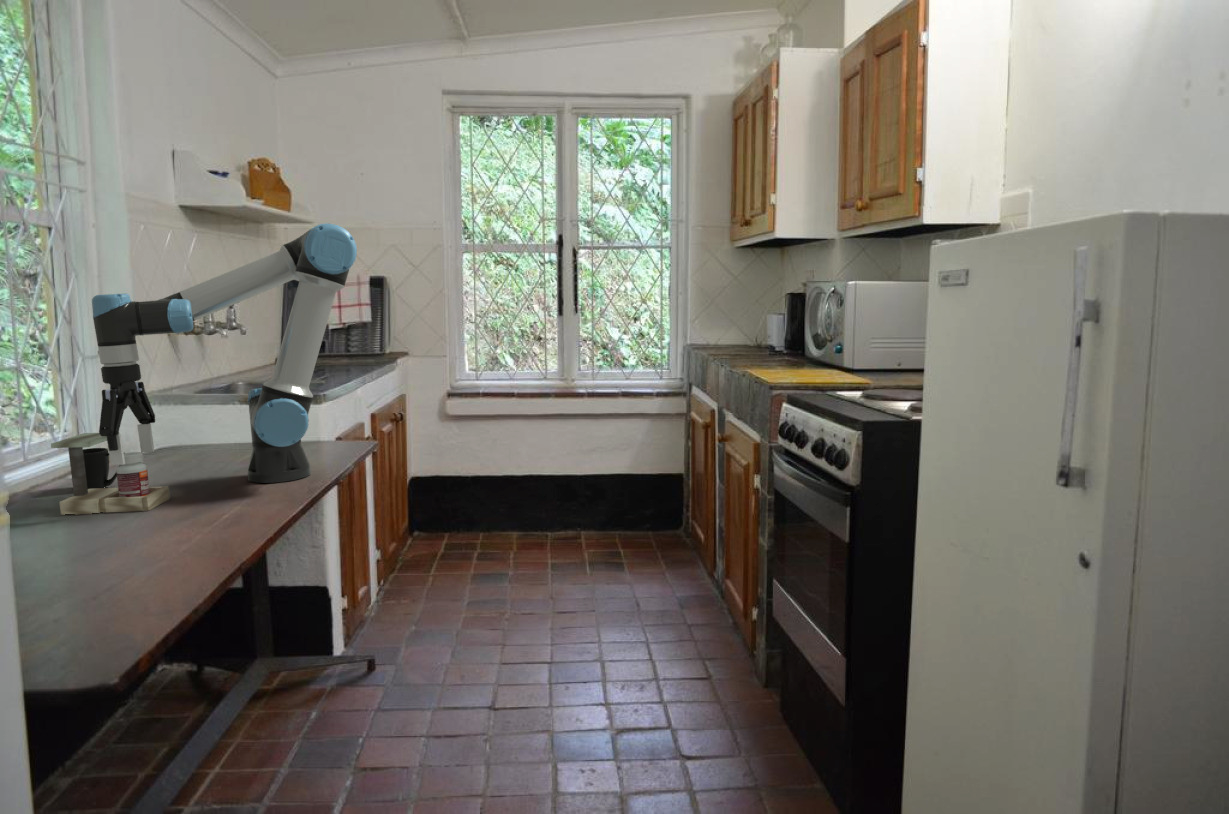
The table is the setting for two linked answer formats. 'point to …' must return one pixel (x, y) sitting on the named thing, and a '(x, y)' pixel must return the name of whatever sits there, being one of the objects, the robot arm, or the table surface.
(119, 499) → the socket block
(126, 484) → the pill bottle
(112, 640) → the table surface
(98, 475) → the mug
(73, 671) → the table surface
